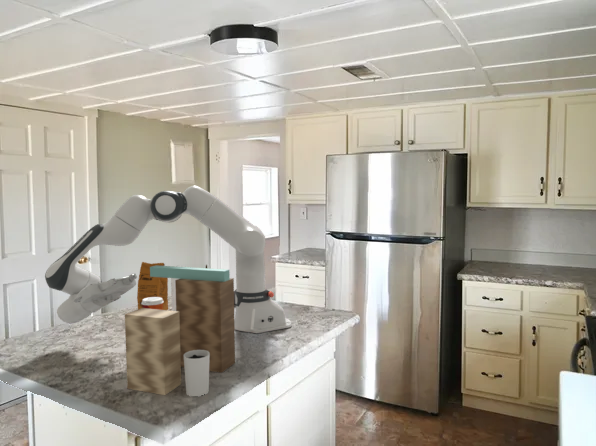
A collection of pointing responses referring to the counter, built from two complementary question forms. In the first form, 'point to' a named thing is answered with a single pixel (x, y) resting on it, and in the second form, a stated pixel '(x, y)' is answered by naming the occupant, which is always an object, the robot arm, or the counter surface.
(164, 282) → the coffee package
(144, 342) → the zigzag patterned block
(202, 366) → the white coffee cup
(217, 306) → the post
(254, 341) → the counter surface
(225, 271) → the rail
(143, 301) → the paper cup
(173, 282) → the milk
